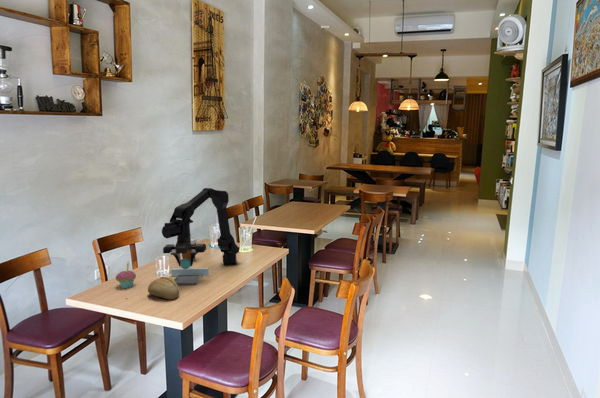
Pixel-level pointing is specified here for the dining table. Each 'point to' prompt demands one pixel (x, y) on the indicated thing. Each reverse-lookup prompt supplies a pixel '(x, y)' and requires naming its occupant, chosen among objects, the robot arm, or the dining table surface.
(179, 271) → the wall
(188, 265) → the ball
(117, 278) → the cupcake
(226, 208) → the robot arm
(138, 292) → the dining table surface
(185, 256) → the disposable coffee cup
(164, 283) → the bread roll
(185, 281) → the dish
